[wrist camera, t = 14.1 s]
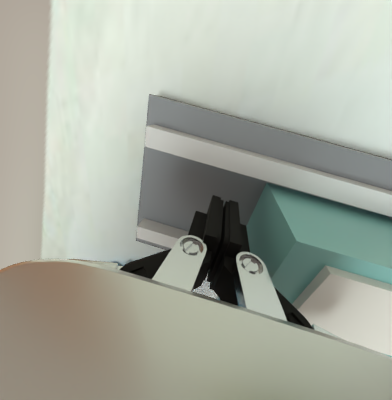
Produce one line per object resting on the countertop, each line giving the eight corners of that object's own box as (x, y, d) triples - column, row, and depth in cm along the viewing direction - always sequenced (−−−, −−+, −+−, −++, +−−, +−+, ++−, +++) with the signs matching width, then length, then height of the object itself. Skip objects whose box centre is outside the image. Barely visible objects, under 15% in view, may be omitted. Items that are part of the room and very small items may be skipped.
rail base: (319, 284, 17) (346, 336, 13) (142, 230, 18) (118, 265, 14) (425, 169, 11) (530, 201, 7) (157, 95, 12) (122, 89, 8)
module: (339, 266, 14) (412, 372, 8) (241, 237, 14) (248, 321, 9) (385, 215, 12) (533, 316, 6) (266, 182, 12) (300, 248, 6)
